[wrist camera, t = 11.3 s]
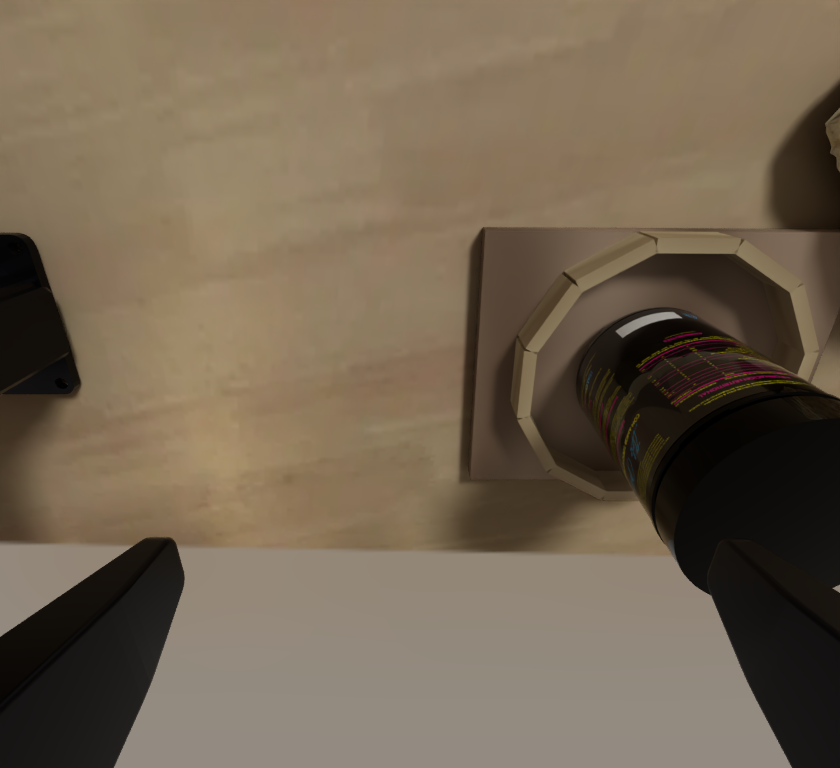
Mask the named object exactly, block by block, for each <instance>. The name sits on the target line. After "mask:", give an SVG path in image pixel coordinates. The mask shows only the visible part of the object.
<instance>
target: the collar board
mask: <svg viewBox="0 0 840 768" xmlns="http://www.w3.org/2000/svg"><path fill="white" fill-rule="evenodd" d="M655 307H673V308H679V309H683V310H686V311H689V312H691V313H694V314H696V315H697V316H699V317H701V318H702V319H704V320H706V321H707V322H709V323H711V324H712V325H714V326H716V327H717V328H719V329H721V330H722V331H724V332H726V333H728V334H729V335H731V336H733V337H734V338H736V339H738V340H739V341H741V342H743V343H744V344H746V345H748V346H749V347H751V348H753V349H754V350H756V351H758V352H759V353H761V354H763V355H764V356H766V357H768V358H769V359H771V360H773V361H774V362H776V363H778V364H779V365H781V366H783V367H784V368H786V369H788V370H789V371H791V372H793V373H794V374H796V375H798V376H799V377H801V378H803V379H804V380H806V381H808V382H810V383H811V381H812V379H813V376H814V374H815V371H816V369H817V366H818V363H819V361H820V358H821V356H822V353H823V351H824V348H825V345H826V343H827V340H828V338H829V335H830V333H831V330H832V327H833V325H834V322H835V320H836V317H837V315H838V312H839V309H840V229H682V228H490V227H483V230H482V247H481V264H480V280H479V297H478V314H477V331H476V348H475V365H474V382H473V399H472V416H471V433H470V450H469V467H468V470H469V476H470V480H562V481H564V482H566V483H568V484H570V485H572V486H573V487H575V488H577V489H579V490H581V491H583V492H585V493H587V494H589V495H591V496H593V497H595V498H597V499H599V500H601V499H602V500H603V501H639V500H638V498H637V497H636V495H635V493H634V492H633V490H632V489H631V487H630V486H629V484H628V482H627V481H626V479H625V478H624V476H623V474H622V473H621V471H620V470H619V468H618V467H617V465H616V463H615V462H614V460H613V459H612V457H611V455H610V454H609V452H608V451H607V449H606V447H605V446H604V444H603V443H602V441H601V440H600V438H599V436H598V435H597V433H596V432H595V430H594V428H593V427H592V425H591V424H590V422H589V421H588V419H587V417H586V416H585V414H584V413H583V411H582V409H581V407H580V405H579V402H578V399H577V394H576V377H577V371H578V367H579V364H580V361H581V359H582V356H583V354H584V352H585V350H586V349H587V347H588V346H589V344H590V343H591V342H592V340H593V339H594V338H595V337H596V336H597V335H598V334H599V333H600V332H601V331H602V330H603V329H604V328H605V327H607V326H608V325H609V324H611V323H612V322H614V321H615V320H617V319H619V318H621V317H623V316H625V315H627V314H629V313H632V312H635V311H638V310H642V309H647V308H655Z"/></svg>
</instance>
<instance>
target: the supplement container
mask: <svg viewBox="0 0 840 768" xmlns="http://www.w3.org/2000/svg"><path fill="white" fill-rule="evenodd" d="M576 394H577V399H578V402H579V405H580V407H581V409H582V411H583V413H584V414H585V416H586V417H587V419H588V421H589V422H590V424H591V425H592V427H593V428H594V430H595V432H596V433H597V435H598V436H599V438H600V440H601V441H602V443H603V444H604V446H605V447H606V449H607V451H608V452H609V454H610V455H611V457H612V459H613V460H614V462H615V463H616V465H617V467H618V468H619V470H620V471H621V473H622V474H623V476H624V478H625V479H626V481H627V482H628V484H629V486H630V487H631V489H632V490H633V492H634V493H635V495H636V497H637V498H638V500H639V501H640V503H641V505H642V506H643V508H644V509H645V511H646V512H647V514H648V516H649V517H650V519H651V521H652V524H653V526H654V528H655V530H656V532H657V534H658V535H659V537H660V538H661V540H662V541H663V542H664V544H665V545H666V546H667V548H668V549H669V551H670V552H671V554H672V556H673V557H674V559H675V560H676V562H677V564H678V565H679V567H680V568H681V570H682V572H683V573H684V575H685V576H686V577H687V578H688V579H689V581H691V582H692V583H693V584H694V585H695V586H696V587H698V588H699V589H701V590H702V591H704V592H706V593H708V594H709V595H711V593H710V591H709V588H708V584H707V574H708V571H709V568H710V565H711V562H712V560H713V557H714V554H715V551H716V548H717V546H718V544H719V542H720V541H721V540H723V539H726V538H745V539H750V540H752V541H754V542H756V543H757V544H759V545H761V546H762V547H764V548H766V549H767V550H769V551H771V552H772V553H774V554H776V555H777V556H779V557H781V558H782V559H784V560H786V561H787V562H789V563H791V564H792V565H794V566H796V567H797V568H799V569H801V570H802V571H804V572H806V573H807V574H809V575H811V576H812V577H814V578H816V579H817V580H819V581H821V582H822V583H824V584H826V585H827V586H829V587H831V588H833V587H835V586H838V585H840V398H838V397H836V396H834V395H831V394H828V393H826V392H825V391H823V390H821V389H820V388H818V387H816V386H815V385H813V384H811V383H810V382H808V381H806V380H804V379H803V378H801V377H799V376H798V375H796V374H794V373H793V372H791V371H789V370H788V369H786V368H784V367H783V366H781V365H779V364H778V363H776V362H774V361H773V360H771V359H769V358H768V357H766V356H764V355H763V354H761V353H759V352H758V351H756V350H754V349H753V348H751V347H749V346H748V345H746V344H744V343H743V342H741V341H739V340H738V339H736V338H734V337H733V336H731V335H729V334H728V333H726V332H724V331H722V330H721V329H719V328H717V327H716V326H714V325H712V324H711V323H709V322H707V321H706V320H704V319H702V318H701V317H699V316H697V315H696V314H694V313H691V312H689V311H686V310H683V309H679V308H673V307H655V308H647V309H642V310H638V311H635V312H632V313H629V314H627V315H625V316H623V317H621V318H619V319H617V320H615V321H614V322H612V323H611V324H609V325H608V326H607V327H605V328H604V329H603V330H602V331H601V332H600V333H599V334H598V335H597V336H596V337H595V338H594V339H593V340H592V342H591V343H590V344H589V346H588V347H587V349H586V350H585V352H584V354H583V356H582V359H581V361H580V364H579V367H578V371H577V377H576Z"/></svg>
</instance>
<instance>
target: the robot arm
mask: <svg viewBox="0 0 840 768" xmlns="http://www.w3.org/2000/svg"><path fill="white" fill-rule="evenodd" d="M16 242H17V243H18V244H19V245H20V246H21V248H22V253H21V252H20V251H19V250H18V249H17V248H16ZM61 378H62V379H64V380H66V382H67V383H68V385H67V384H65V383H64V382H63V381H62V380H61ZM79 384H80V380H79V377H78V373H77V370H76V367H75V364H74V361H73V358H72V355H71V352H70V347H69V344H68V341H67V338H66V335H65V332H64V329H63V326H62V323H61V319H60V316H59V313H58V310H57V307H56V304H55V301H54V298H53V295H52V293H51V290H50V287H49V284H48V281H47V278H46V275H45V272H44V269H43V266H42V263H41V260H40V256H39V253H38V250H37V247H36V245H35V243H34V241H33V240H32V239H31V238H30V237H28V236H27V235H25V234H22V233H0V395H1V394H69V393H71V392H72V391H74V390H75V389H76V388H78V387H79ZM707 584H708V588H709V591H710V593H711V596H712V598H713V601H714V603H715V606H716V608H717V610H718V613H719V615H720V618H721V620H722V622H723V625H724V627H725V629H726V632H727V635H728V637H729V639H730V642H731V644H732V647H733V649H734V651H735V654H736V656H737V659H738V661H739V664H740V666H741V668H742V671H743V673H744V675H745V677H746V680H747V682H748V684H749V686H750V688H751V690H752V692H753V694H754V696H755V698H756V700H757V702H758V704H759V706H760V708H761V710H762V711H763V713H764V715H765V717H766V719H767V721H768V723H769V725H770V727H771V729H772V730H773V732H774V734H775V736H776V738H777V740H778V742H779V744H780V746H781V748H782V749H783V751H784V753H785V755H786V757H787V759H788V761H789V763H790V765H791V767H792V768H840V593H839V592H837V591H836V590H834V589H832V588H831V587H829V586H827V585H826V584H824V583H822V582H821V581H819V580H817V579H816V578H814V577H812V576H811V575H809V574H807V573H806V572H804V571H802V570H801V569H799V568H797V567H796V566H794V565H792V564H791V563H789V562H787V561H786V560H784V559H782V558H781V557H779V556H777V555H776V554H774V553H772V552H771V551H769V550H767V549H766V548H764V547H762V546H761V545H759V544H757V543H756V542H754V541H752V540H750V539H745V538H726V539H723V540H721V541H720V542H719V544H718V546H717V548H716V551H715V554H714V557H713V560H712V562H711V565H710V568H709V571H708V574H707ZM183 587H184V571H183V567H182V564H181V560H180V556H179V553H178V549H177V545H176V543H175V541H174V540H173V539H172V538H169V537H150V538H146V539H144V540H142V541H140V542H139V543H137V544H136V545H134V546H133V547H131V548H130V549H129V550H127V551H125V552H124V553H123V554H121V555H120V556H118V557H117V558H115V559H114V560H112V561H111V562H109V563H108V564H106V565H105V566H104V567H102V568H101V569H99V570H98V571H96V572H95V573H93V574H92V575H90V576H89V577H87V578H86V579H84V580H83V581H81V582H80V583H79V584H77V585H76V586H74V587H73V588H71V589H70V590H68V591H67V592H65V593H64V594H62V595H61V596H60V597H58V598H57V599H55V600H54V601H52V602H51V603H49V604H48V605H46V606H45V607H43V608H42V609H40V610H39V611H38V612H36V613H35V614H33V615H32V616H30V617H29V618H27V619H26V620H24V621H23V622H21V623H20V624H18V625H17V626H16V627H14V628H13V629H11V630H10V631H8V632H7V633H5V634H4V635H2V636H1V637H0V768H114V766H115V764H116V762H117V759H118V757H119V755H120V753H121V750H122V748H123V746H124V744H125V741H126V739H127V737H128V735H129V732H130V730H131V728H132V726H133V724H134V721H135V719H136V717H137V715H138V712H139V710H140V708H141V706H142V703H143V701H144V699H145V696H146V694H147V692H148V689H149V687H150V684H151V682H152V679H153V676H154V674H155V671H156V668H157V665H158V662H159V659H160V656H161V653H162V650H163V647H164V644H165V641H166V638H167V635H168V632H169V629H170V626H171V623H172V620H173V617H174V614H175V611H176V608H177V605H178V602H179V599H180V596H181V593H182V590H183Z"/></svg>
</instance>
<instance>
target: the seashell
mask: <svg viewBox="0 0 840 768" xmlns="http://www.w3.org/2000/svg"><path fill="white" fill-rule="evenodd" d="M825 126H826V134H827V136H828V138H829V141H830V144H831V151H830V153H831V154H832V155H834V156H835V157H836V158H837V169H838V170H839V172H840V108H839V109H838V110H837V111H836V112H835V113H834V114H833V116H832V117H831V118H830V119H829V120H828V121H827V122H826V123H825Z"/></svg>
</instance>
